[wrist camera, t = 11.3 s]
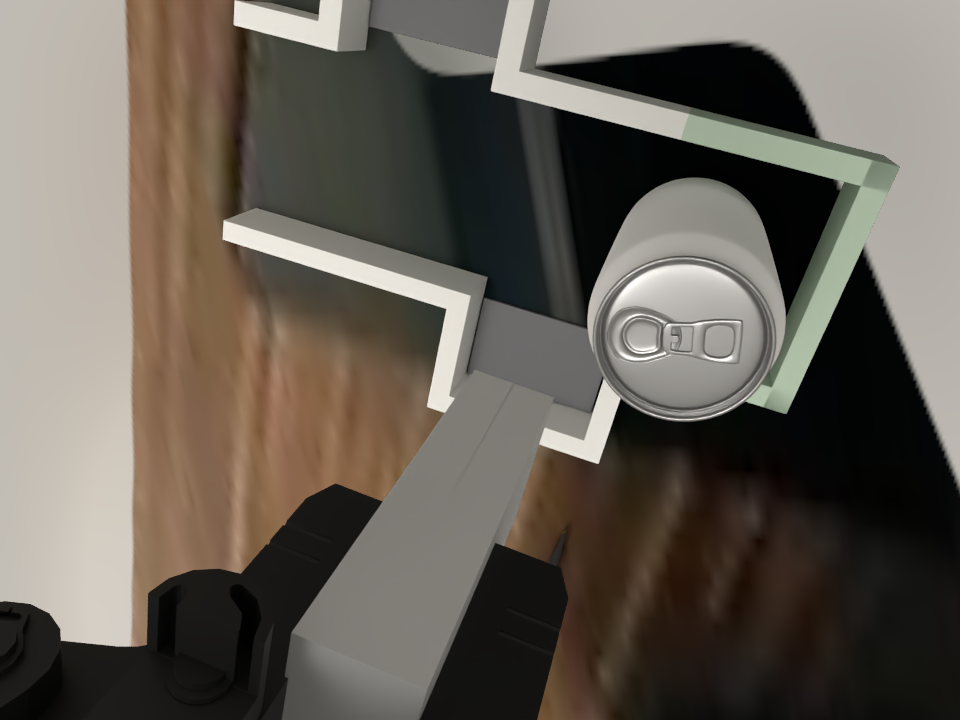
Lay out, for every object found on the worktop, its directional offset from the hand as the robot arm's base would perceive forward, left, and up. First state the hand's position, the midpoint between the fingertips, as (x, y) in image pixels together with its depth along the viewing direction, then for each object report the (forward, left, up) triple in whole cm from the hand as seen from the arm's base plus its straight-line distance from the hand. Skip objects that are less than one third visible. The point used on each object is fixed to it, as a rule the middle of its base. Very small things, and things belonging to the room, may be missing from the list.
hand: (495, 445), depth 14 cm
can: (-1, +4, -23) cm, 24 cm away
